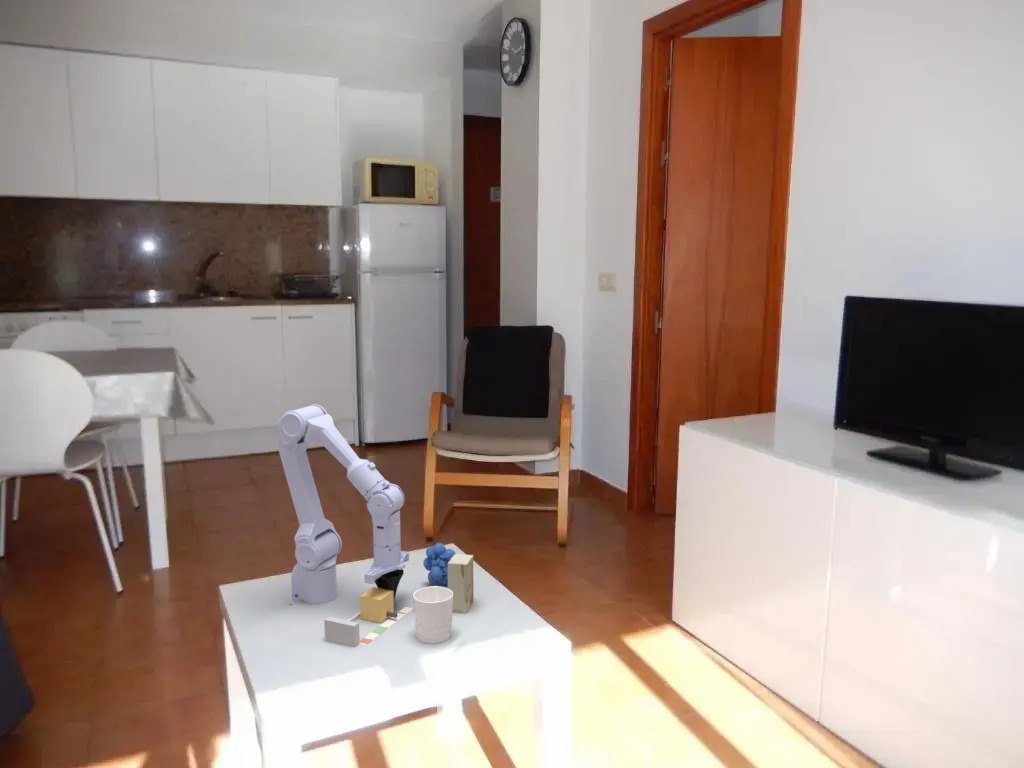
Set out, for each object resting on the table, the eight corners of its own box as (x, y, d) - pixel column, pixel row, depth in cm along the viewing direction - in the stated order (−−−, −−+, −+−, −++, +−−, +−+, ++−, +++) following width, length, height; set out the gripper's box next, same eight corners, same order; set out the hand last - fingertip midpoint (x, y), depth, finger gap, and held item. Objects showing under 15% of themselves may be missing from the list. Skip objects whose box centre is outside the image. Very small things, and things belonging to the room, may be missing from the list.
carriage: (360, 618, 159) (359, 595, 158) (373, 609, 164) (373, 587, 163) (390, 625, 156) (389, 601, 155) (402, 615, 161) (402, 592, 160)
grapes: (412, 595, 174) (411, 544, 173) (431, 585, 180) (430, 536, 178) (452, 607, 168) (452, 555, 166) (471, 596, 173) (470, 546, 172)
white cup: (414, 633, 156) (413, 586, 154) (453, 631, 156) (452, 585, 155) (412, 652, 148) (412, 603, 146) (453, 650, 149) (453, 601, 147)
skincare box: (466, 620, 162) (466, 564, 160) (447, 618, 163) (446, 563, 161) (474, 607, 168) (474, 554, 166) (455, 605, 169) (454, 552, 167)
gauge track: (314, 646, 150) (314, 619, 149) (376, 602, 170) (376, 578, 169) (362, 657, 146) (361, 629, 145) (419, 611, 166) (419, 586, 165)
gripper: (384, 557, 154) (385, 620, 156) (420, 534, 167) (421, 593, 169) (355, 551, 157) (356, 614, 159) (392, 530, 170) (393, 588, 172)
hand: (388, 603), depth 164 cm, fingers closed
